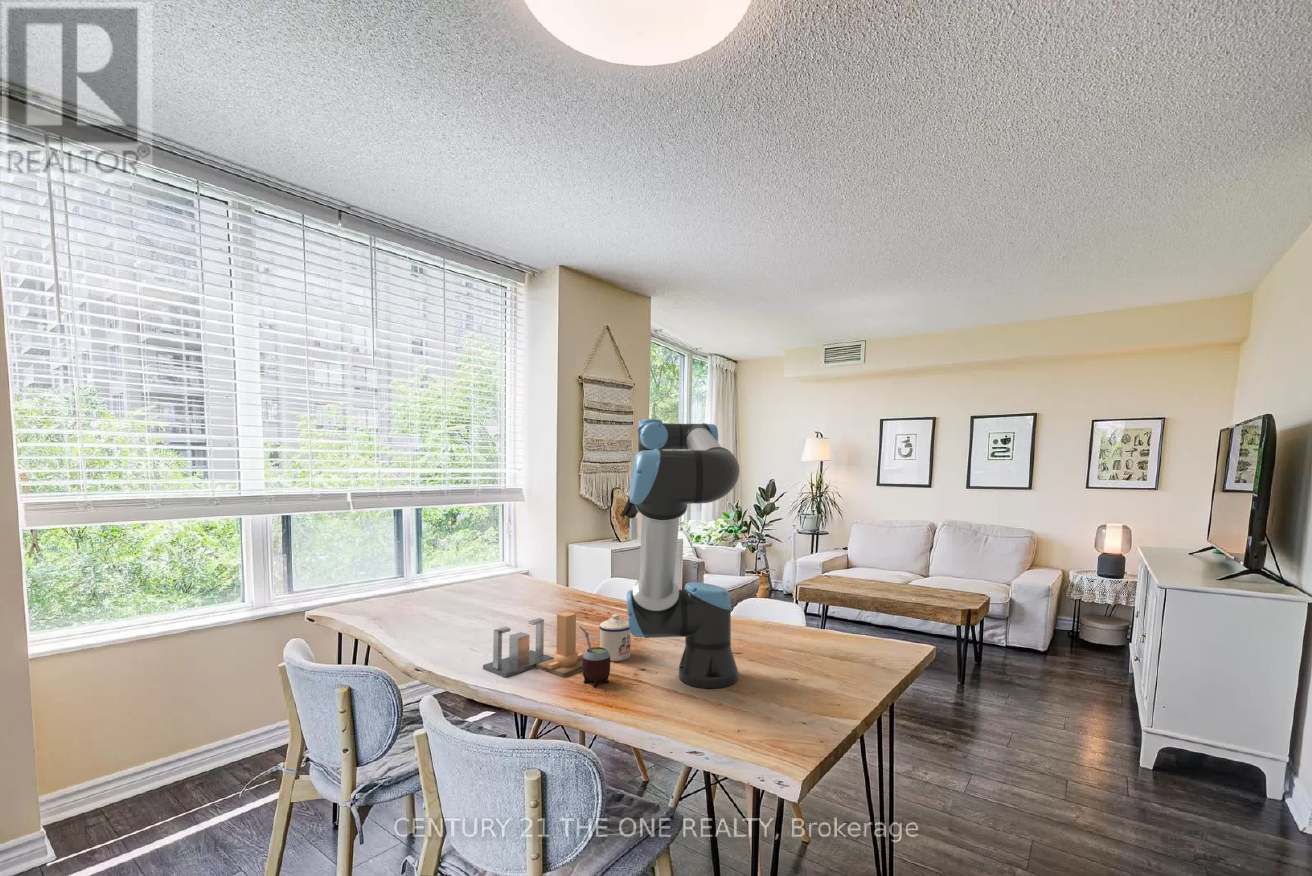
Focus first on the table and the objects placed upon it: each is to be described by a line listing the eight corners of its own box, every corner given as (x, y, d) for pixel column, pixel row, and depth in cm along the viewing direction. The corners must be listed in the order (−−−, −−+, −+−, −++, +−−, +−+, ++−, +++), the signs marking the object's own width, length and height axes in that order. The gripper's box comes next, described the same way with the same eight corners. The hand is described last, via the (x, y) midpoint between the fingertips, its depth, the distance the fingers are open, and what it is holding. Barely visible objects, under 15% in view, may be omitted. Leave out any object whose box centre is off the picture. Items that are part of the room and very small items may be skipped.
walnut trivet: (594, 665, 151) (594, 662, 151) (563, 677, 142) (563, 673, 142) (567, 657, 158) (567, 653, 158) (536, 667, 149) (536, 664, 149)
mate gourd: (611, 677, 143) (611, 618, 143) (609, 689, 135) (609, 626, 136) (581, 677, 142) (582, 618, 143) (578, 689, 134) (578, 626, 135)
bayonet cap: (573, 655, 157) (574, 608, 157) (589, 660, 153) (590, 611, 153) (541, 666, 148) (541, 616, 148) (557, 671, 144) (557, 620, 144)
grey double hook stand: (531, 653, 161) (531, 615, 162) (553, 661, 155) (554, 621, 155) (482, 668, 149) (483, 627, 149) (505, 677, 142) (506, 634, 143)
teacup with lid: (624, 663, 153) (624, 620, 153) (593, 660, 156) (594, 617, 156) (639, 650, 164) (639, 610, 165) (610, 647, 167) (611, 607, 168)
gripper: (691, 470, 163) (691, 543, 162) (628, 470, 179) (627, 536, 178) (675, 470, 158) (675, 546, 156) (612, 470, 173) (611, 539, 172)
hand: (650, 541), depth 167 cm, fingers open, 13 cm apart
